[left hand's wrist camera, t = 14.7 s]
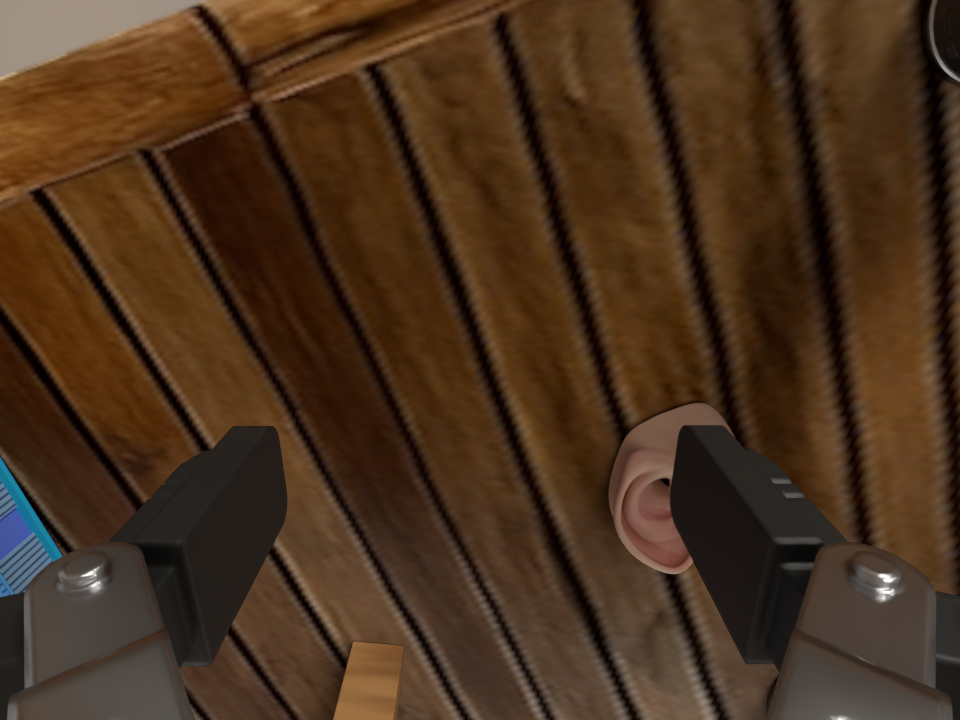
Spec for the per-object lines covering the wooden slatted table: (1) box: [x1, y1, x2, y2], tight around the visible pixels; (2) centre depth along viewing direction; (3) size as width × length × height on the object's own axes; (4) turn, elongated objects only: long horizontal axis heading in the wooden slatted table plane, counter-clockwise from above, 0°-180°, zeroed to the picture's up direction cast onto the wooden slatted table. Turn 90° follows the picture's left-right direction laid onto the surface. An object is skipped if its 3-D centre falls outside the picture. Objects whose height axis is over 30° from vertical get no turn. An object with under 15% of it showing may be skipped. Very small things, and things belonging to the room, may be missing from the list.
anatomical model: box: [609, 403, 734, 574], centre depth 46 cm, size 13×4×12 cm
